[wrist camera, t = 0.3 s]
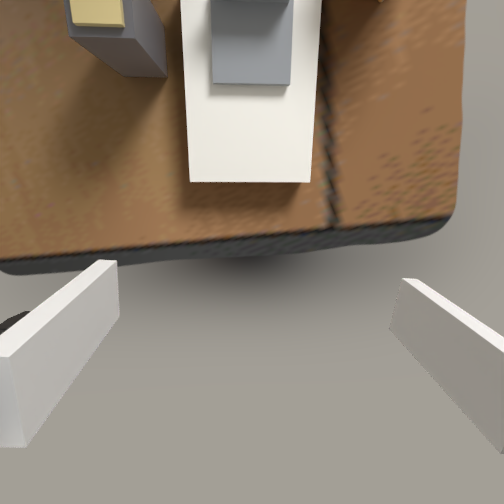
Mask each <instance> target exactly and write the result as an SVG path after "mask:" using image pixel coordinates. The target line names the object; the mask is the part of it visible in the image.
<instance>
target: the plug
mask: <svg viewBox="0 0 504 504" xmlns="http://www.w3.org/2000/svg"><path fill="white" fill-rule="evenodd" d="M64 6H65V13H66V19H67V26H68V33H69V37H71V38H72V39H73V40H75V41H76V42H77V43H79V44H80V45H81V46H83V47H84V48H85V49H87V50H88V51H90V52H91V53H92V54H94V55H95V56H96V57H98V58H99V59H100V60H102V61H103V62H105V63H106V64H107V65H109V66H110V67H111V68H113V69H114V70H115V71H117V72H118V73H120V74H121V75H122V76H124V77H164V78H168V73H167V59H166V44H165V29H164V25H163V23H162V21H161V20H160V18H159V16H158V14H157V12H156V10H155V8H154V7H153V5H152V3H151V1H150V0H64Z"/></svg>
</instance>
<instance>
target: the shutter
mask: <svg viewBox="0 0 504 504" xmlns="http://www.w3.org/2000/svg"><path fill="white" fill-rule="evenodd" d="M210 1H211V37H212V73H213V84H217V85H263V86H289V85H290V79H291V55H292V31H293V6H294V0H210Z"/></svg>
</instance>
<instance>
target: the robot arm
mask: <svg viewBox="0 0 504 504" xmlns="http://www.w3.org/2000/svg"><path fill="white" fill-rule="evenodd" d="M118 294H119V293H118V275H117V261H114V260H98V261H96V262H95V263H94V264H92V265H91V266H90V267H88V268H87V269H86V270H85V271H83V272H82V273H81V274H79V275H78V276H77V277H75V278H74V279H73V280H71V281H70V282H69V283H68V284H66V285H65V286H64V287H62V288H61V289H60V290H59V291H57V292H56V293H55V294H53V295H52V296H51V297H49V298H48V299H47V300H46V301H44V302H43V303H42V304H40V305H39V306H38V307H36V308H35V309H34V310H32V311H25V312H22V313H20V314H18V315H16V316H13V317H11V318H9V319H7V320H6V321H4V322H3V323H1V324H0V447H20V448H21V447H22V448H26V447H27V445H28V444H29V442H30V441H31V440H32V438H33V437H34V435H35V434H36V432H37V431H38V430H39V428H40V427H41V426H42V424H43V423H44V421H45V420H46V419H47V417H48V416H49V414H50V413H51V412H52V410H53V409H54V407H55V406H56V405H57V403H58V402H59V400H60V399H61V398H62V396H63V395H64V393H65V392H66V391H67V389H68V388H69V386H70V385H71V384H72V382H73V381H74V379H75V378H76V377H77V375H78V374H79V372H80V371H81V370H82V368H83V367H84V365H85V364H86V363H87V361H88V360H89V358H90V357H91V356H92V354H93V353H94V351H95V350H96V349H97V347H98V346H99V344H100V343H101V342H102V340H103V339H104V337H105V336H106V335H107V333H108V332H109V330H110V329H111V328H112V326H113V325H114V323H115V322H116V321H117V319H118V318H119V316H120V313H119V295H118ZM389 329H390V330H391V332H392V333H393V334H394V335H395V336H396V337H397V338H398V340H400V342H401V343H402V344H403V345H404V346H405V347H406V348H407V350H408V351H409V352H410V353H411V354H412V355H413V356H414V358H415V359H416V360H417V361H418V362H419V363H420V364H421V365H422V366H423V368H424V369H425V370H426V371H427V372H428V373H429V374H430V375H431V377H433V379H434V380H435V381H436V382H437V383H438V384H439V386H440V387H441V388H442V389H443V390H444V391H445V392H446V393H447V395H448V396H449V397H450V398H451V399H452V400H453V401H454V402H455V403H456V405H457V406H458V407H459V408H460V409H461V410H462V411H463V413H464V414H465V415H466V416H467V417H468V418H469V419H470V420H471V421H472V423H473V424H474V425H475V426H476V427H477V428H478V429H479V430H480V432H481V433H482V434H483V435H484V436H485V437H486V438H487V439H488V441H489V442H490V443H491V444H492V445H493V446H494V447H495V448H496V449H497V450H498V452H499V453H500V454H504V337H502V336H501V335H499V334H498V333H496V332H495V331H493V330H492V329H490V328H489V327H488V326H486V325H484V324H483V323H482V322H480V321H479V320H477V319H476V318H474V317H473V316H471V315H470V314H468V313H467V312H465V311H464V310H462V309H461V308H459V307H458V306H456V305H455V304H454V303H452V302H451V301H449V300H448V299H446V298H445V297H443V296H442V295H440V294H439V293H437V292H436V291H434V290H432V289H431V288H430V287H428V286H427V285H425V284H424V283H422V282H421V281H419V280H418V279H407V278H402V280H401V284H400V288H399V292H398V296H397V299H396V303H395V307H394V311H393V315H392V319H391V323H390V327H389Z"/></svg>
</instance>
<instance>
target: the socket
mask: <svg viewBox="0 0 504 504" xmlns="http://www.w3.org/2000/svg"><path fill="white" fill-rule="evenodd" d="M180 2H181V21H182V40H183V59H184V78H185V97H186V116H187V135H188V154H189V173H190V182H310V174H311V159H312V143H313V127H314V112H315V96H316V81H317V65H318V50H319V34H320V18H321V3H322V0H294V6H293V31H292V55H291V79H290V85H289V86H263V85H217V84H213V73H212V37H211V1H210V0H180Z"/></svg>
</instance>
